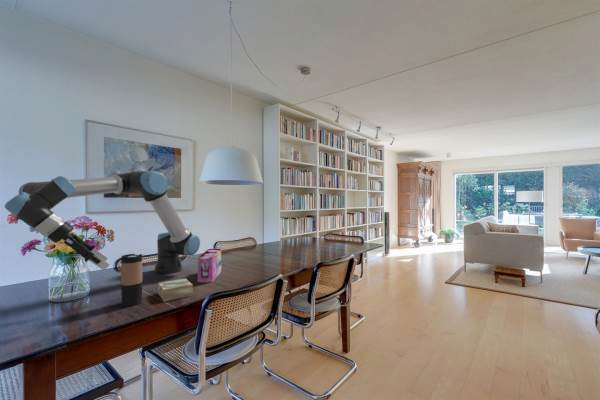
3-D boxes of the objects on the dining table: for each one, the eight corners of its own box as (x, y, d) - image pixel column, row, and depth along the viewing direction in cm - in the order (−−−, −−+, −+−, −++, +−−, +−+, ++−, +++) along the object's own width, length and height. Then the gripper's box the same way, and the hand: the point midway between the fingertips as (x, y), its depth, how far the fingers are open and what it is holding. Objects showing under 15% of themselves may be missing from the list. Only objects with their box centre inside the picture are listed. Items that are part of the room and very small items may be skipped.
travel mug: (122, 308, 112) (122, 258, 111) (119, 302, 117) (119, 255, 117) (144, 303, 117) (144, 255, 116) (140, 298, 122) (140, 252, 122)
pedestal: (158, 293, 128) (158, 282, 128) (185, 288, 136) (185, 277, 136) (163, 301, 119) (163, 289, 119) (192, 295, 126) (192, 284, 126)
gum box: (212, 283, 144) (212, 257, 144) (196, 283, 144) (196, 257, 143) (221, 271, 168) (221, 248, 168) (208, 271, 167) (208, 248, 167)
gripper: (49, 232, 110) (96, 265, 119) (41, 241, 90) (98, 279, 99) (67, 218, 113) (111, 251, 123) (62, 223, 93) (116, 262, 103)
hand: (106, 264), depth 111 cm, fingers open, 13 cm apart
